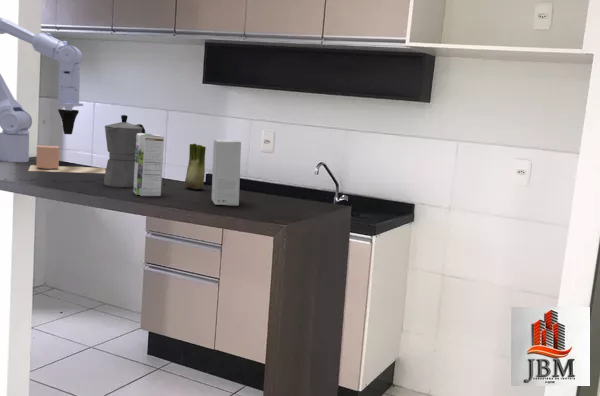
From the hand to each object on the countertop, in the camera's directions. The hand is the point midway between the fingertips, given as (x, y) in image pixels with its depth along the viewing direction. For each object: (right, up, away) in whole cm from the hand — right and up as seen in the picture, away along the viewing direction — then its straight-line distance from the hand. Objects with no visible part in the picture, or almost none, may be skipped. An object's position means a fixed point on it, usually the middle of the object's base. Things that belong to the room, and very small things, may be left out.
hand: (67, 134), depth 183 cm
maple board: (+4, -12, -9) cm, 15 cm away
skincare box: (+51, -20, -37) cm, 66 cm away
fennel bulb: (+41, -17, -20) cm, 48 cm away
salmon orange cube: (-1, -10, -11) cm, 15 cm away
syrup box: (+32, -18, -34) cm, 50 cm away
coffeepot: (+23, -16, -22) cm, 35 cm away
